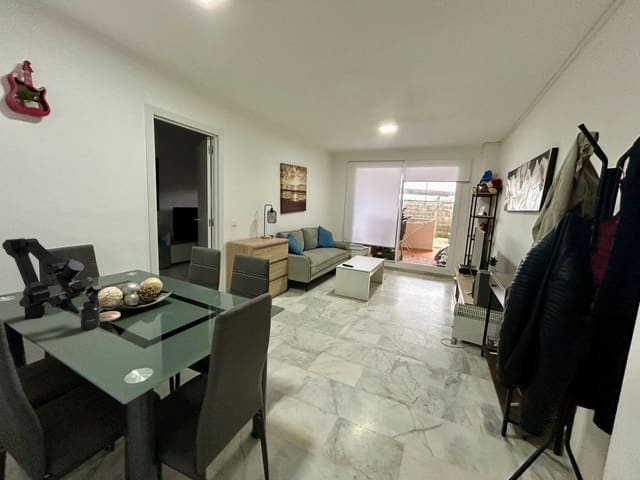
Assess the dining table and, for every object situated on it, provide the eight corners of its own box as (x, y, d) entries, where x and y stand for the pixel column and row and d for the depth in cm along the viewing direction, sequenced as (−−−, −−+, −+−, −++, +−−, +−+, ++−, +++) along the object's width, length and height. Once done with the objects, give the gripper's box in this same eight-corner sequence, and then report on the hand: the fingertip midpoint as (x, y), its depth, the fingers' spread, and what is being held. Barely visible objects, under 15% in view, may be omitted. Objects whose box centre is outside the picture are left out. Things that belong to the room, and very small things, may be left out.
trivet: (93, 322, 129) (93, 320, 129) (97, 314, 138) (97, 312, 138) (118, 319, 134) (118, 317, 134) (121, 312, 143) (121, 310, 143)
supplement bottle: (88, 331, 121) (88, 306, 119) (76, 329, 122) (75, 303, 121) (103, 325, 128) (103, 301, 126) (92, 323, 129) (91, 299, 127)
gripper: (54, 278, 114) (76, 306, 113) (98, 268, 132) (117, 293, 131) (40, 293, 116) (62, 321, 115) (85, 282, 134) (104, 306, 134)
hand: (88, 309), depth 124 cm, fingers open, 9 cm apart
